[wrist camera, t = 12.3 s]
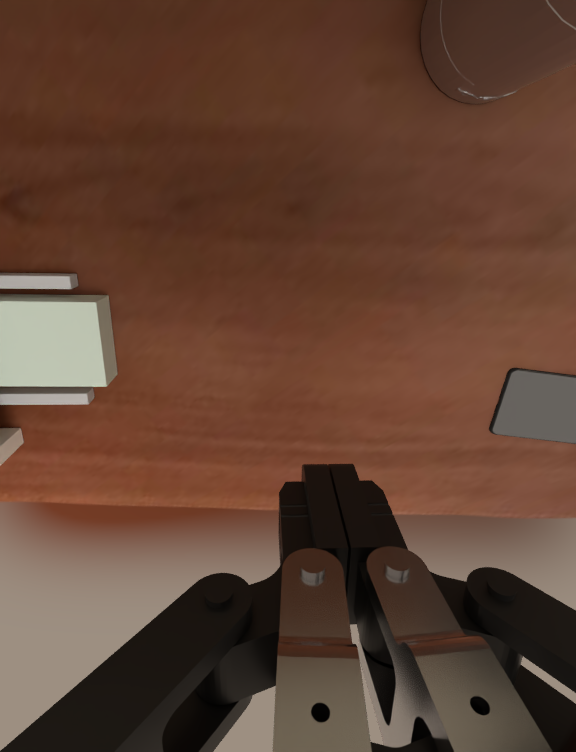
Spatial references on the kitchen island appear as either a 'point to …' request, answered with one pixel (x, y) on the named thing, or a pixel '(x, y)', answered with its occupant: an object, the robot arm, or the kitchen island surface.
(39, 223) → the kitchen island surface
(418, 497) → the kitchen island surface
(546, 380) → the smartphone
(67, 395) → the cream rectangular prism
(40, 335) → the sage green bar
